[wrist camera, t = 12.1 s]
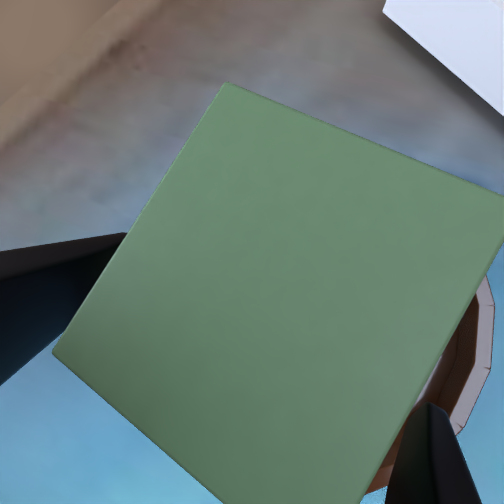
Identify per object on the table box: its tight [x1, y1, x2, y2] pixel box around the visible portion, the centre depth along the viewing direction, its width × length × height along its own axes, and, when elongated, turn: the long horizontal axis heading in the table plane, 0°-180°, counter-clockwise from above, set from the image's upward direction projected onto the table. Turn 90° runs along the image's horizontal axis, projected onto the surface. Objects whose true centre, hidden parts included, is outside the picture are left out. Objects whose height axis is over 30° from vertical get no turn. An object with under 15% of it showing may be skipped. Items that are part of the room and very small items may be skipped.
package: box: [52, 82, 504, 504], centre depth 12 cm, size 6×6×13 cm
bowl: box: [365, 275, 495, 495], centre depth 16 cm, size 15×15×4 cm
